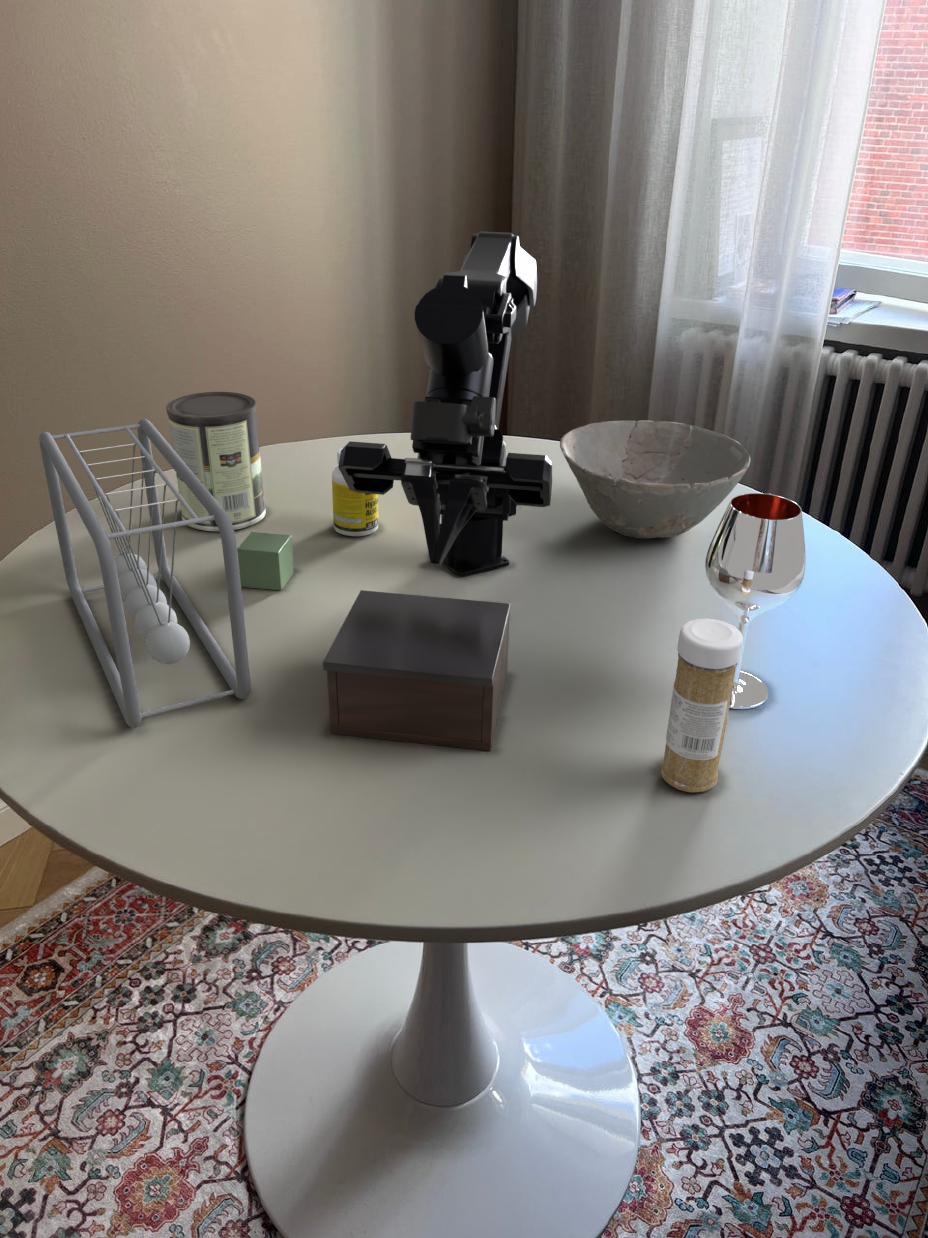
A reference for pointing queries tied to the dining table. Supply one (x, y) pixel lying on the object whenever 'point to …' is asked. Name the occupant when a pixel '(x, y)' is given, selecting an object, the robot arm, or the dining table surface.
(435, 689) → the walnut box
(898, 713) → the dining table surface
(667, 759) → the sprinkles bottle
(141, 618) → the newton's cradle
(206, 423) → the coffee can
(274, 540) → the block
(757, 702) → the wineglass
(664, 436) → the ceramic bowl
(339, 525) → the supplement bottle
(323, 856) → the dining table surface
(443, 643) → the lid
